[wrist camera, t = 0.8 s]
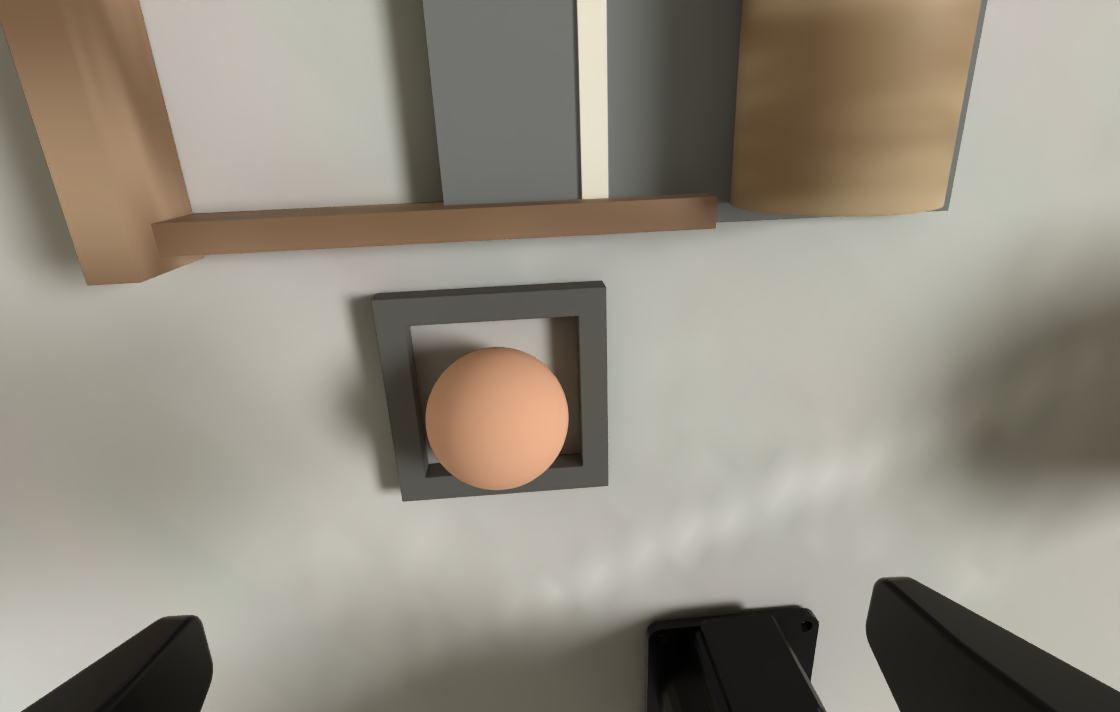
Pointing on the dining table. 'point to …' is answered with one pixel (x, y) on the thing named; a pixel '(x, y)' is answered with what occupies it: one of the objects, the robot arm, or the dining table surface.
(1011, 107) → the dining table surface
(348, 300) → the dining table surface
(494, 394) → the ball
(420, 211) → the walnut lane
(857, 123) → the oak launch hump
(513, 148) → the runway mat
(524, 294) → the grey square frame
